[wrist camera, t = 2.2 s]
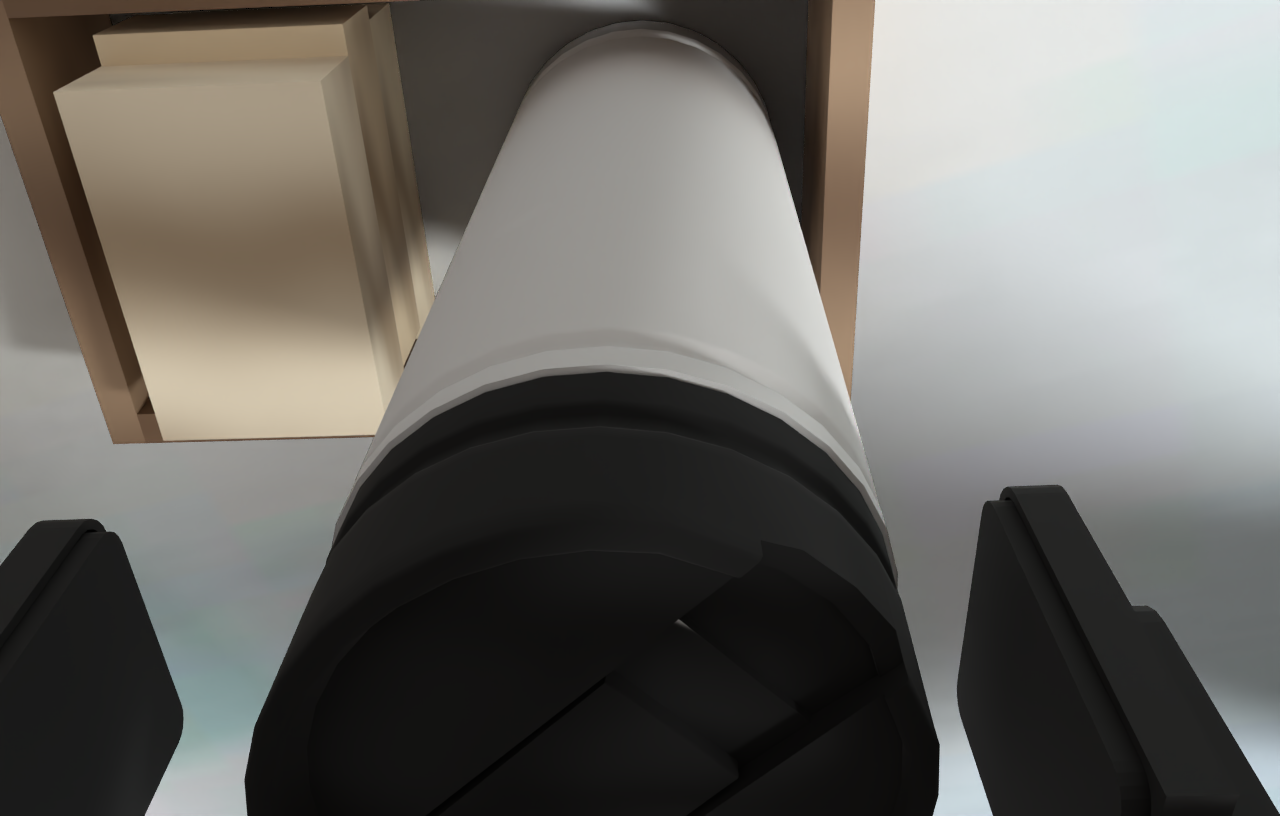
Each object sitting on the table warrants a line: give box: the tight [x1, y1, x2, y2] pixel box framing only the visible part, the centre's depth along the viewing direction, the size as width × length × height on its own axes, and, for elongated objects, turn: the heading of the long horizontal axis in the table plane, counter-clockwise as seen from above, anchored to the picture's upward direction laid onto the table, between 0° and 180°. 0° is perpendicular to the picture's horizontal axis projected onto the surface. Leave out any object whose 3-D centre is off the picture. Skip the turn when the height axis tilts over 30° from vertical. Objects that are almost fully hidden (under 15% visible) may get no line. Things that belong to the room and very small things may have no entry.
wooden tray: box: [0, 0, 875, 444], centre depth 25 cm, size 11×18×4 cm, turn 93°
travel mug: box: [245, 20, 940, 816], centre depth 18 cm, size 6×7×20 cm
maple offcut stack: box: [53, 3, 435, 441], centre depth 24 cm, size 8×5×6 cm, turn 3°
